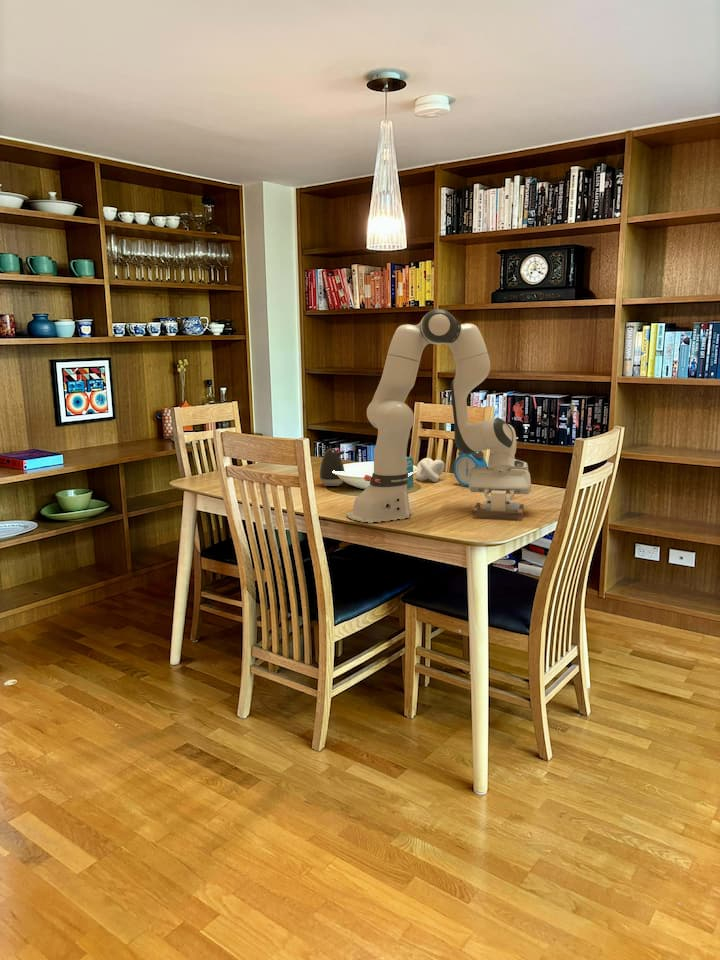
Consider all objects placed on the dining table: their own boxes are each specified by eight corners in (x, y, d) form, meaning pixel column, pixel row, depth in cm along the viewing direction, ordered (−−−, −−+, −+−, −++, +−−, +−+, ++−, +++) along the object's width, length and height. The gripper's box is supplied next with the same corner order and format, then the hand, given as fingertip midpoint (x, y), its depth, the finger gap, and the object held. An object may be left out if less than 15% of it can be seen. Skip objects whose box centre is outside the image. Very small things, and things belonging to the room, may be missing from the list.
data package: (398, 491, 286) (398, 461, 284) (388, 490, 288) (388, 460, 286) (413, 486, 296) (413, 456, 293) (403, 485, 298) (403, 455, 296)
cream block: (504, 517, 238) (505, 493, 237) (490, 516, 239) (491, 492, 238) (505, 514, 242) (506, 490, 241) (491, 513, 244) (492, 489, 242)
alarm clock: (452, 484, 297) (452, 447, 294) (462, 482, 301) (462, 446, 298) (478, 489, 287) (479, 451, 284) (488, 486, 292) (489, 449, 289)
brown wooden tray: (521, 525, 234) (521, 512, 234) (472, 522, 238) (472, 510, 238) (523, 516, 245) (523, 504, 245) (476, 514, 249) (476, 502, 249)
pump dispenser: (342, 488, 294) (341, 450, 291) (317, 487, 296) (315, 450, 293) (348, 483, 304) (347, 446, 301) (323, 482, 306) (322, 446, 303)
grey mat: (518, 515, 247) (518, 510, 246) (481, 513, 250) (481, 509, 250) (520, 506, 258) (520, 502, 258) (485, 505, 261) (485, 501, 261)
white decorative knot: (443, 483, 299) (444, 462, 297) (414, 483, 301) (414, 462, 299) (444, 478, 310) (444, 457, 308) (415, 478, 312) (415, 457, 310)
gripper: (469, 461, 247) (465, 496, 240) (532, 463, 242) (529, 498, 234) (470, 472, 252) (466, 506, 245) (532, 474, 247) (530, 509, 239)
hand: (498, 502), depth 239 cm, fingers open, 5 cm apart
